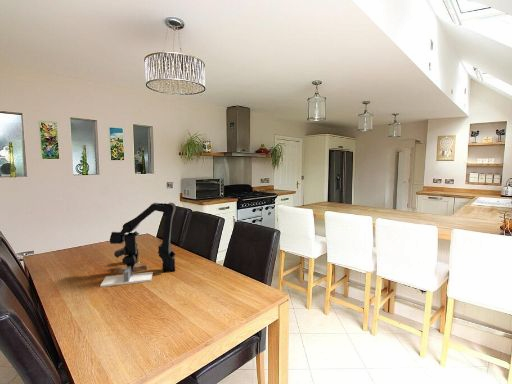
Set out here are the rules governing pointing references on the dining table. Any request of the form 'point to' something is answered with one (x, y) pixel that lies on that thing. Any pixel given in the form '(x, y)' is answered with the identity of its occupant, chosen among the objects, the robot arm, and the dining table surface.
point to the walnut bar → (135, 269)
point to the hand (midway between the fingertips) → (131, 269)
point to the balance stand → (127, 278)
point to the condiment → (138, 255)
